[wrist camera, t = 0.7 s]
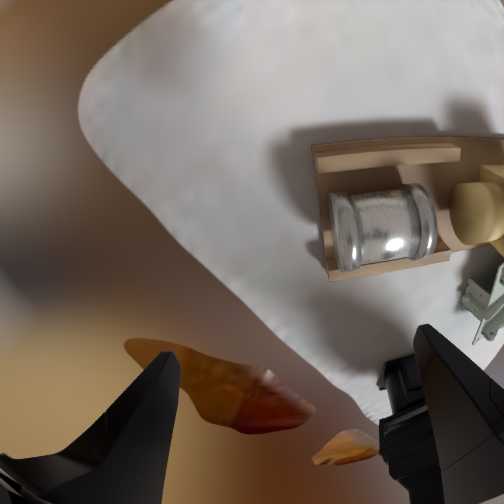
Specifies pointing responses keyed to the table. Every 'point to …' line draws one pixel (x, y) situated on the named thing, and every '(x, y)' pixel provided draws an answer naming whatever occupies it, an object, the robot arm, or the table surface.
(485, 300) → the metal bracket
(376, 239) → the cylinder
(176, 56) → the table surface
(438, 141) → the wooden channel tray
